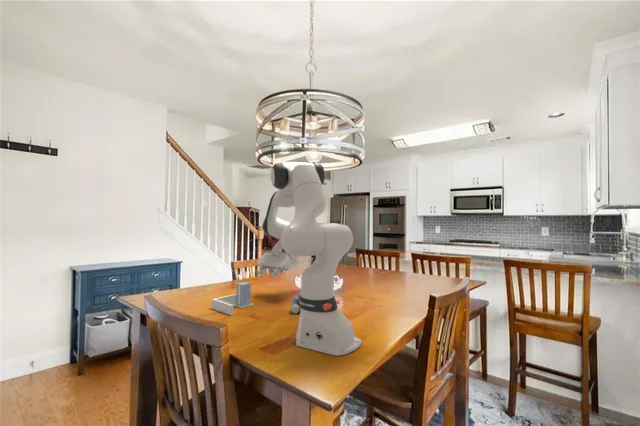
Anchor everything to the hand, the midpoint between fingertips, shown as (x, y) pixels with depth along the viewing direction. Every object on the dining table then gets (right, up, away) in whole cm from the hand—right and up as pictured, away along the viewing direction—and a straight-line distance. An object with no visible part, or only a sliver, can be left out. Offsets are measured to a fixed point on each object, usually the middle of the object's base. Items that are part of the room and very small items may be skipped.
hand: (265, 275), depth 154 cm
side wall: (-15, -11, -20) cm, 27 cm away
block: (-9, -11, -9) cm, 17 cm away
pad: (-9, -12, -9) cm, 17 cm away
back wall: (-15, -11, -9) cm, 21 cm away
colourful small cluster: (+18, -12, -18) cm, 28 cm away
